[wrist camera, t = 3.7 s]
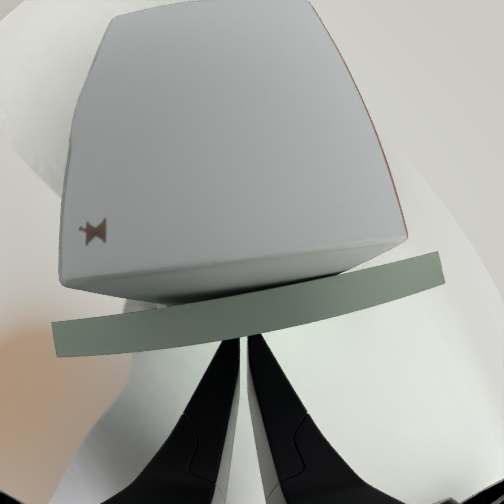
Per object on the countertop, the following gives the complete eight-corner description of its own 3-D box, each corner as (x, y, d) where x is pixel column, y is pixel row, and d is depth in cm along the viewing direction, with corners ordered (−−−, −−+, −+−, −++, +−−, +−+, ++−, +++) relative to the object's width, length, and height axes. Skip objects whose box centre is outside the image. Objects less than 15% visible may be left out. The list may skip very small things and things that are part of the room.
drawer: (153, 335, 16) (57, 357, 6) (136, 167, 18) (74, 66, 8) (339, 301, 17) (444, 283, 7) (298, 140, 19) (335, 28, 9)
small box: (290, 296, 17) (419, 249, 4) (184, 309, 17) (48, 293, 4) (271, 172, 19) (311, -5, 6) (175, 183, 18) (105, 16, 6)
